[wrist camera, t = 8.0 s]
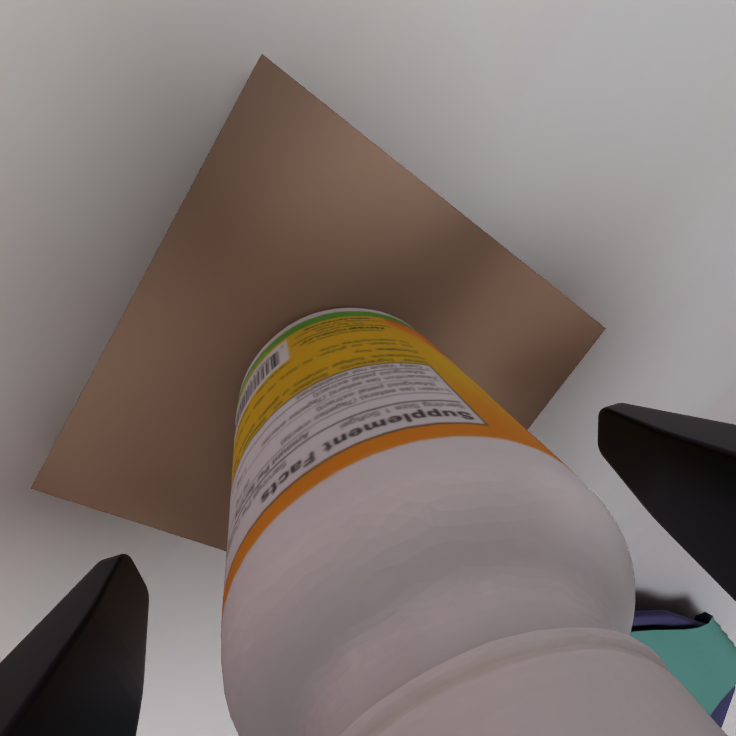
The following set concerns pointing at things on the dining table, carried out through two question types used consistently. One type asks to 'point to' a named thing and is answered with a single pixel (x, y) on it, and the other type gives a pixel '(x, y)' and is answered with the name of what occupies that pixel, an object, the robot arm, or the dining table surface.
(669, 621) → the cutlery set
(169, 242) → the walnut board
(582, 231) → the dining table surface
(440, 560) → the supplement bottle
